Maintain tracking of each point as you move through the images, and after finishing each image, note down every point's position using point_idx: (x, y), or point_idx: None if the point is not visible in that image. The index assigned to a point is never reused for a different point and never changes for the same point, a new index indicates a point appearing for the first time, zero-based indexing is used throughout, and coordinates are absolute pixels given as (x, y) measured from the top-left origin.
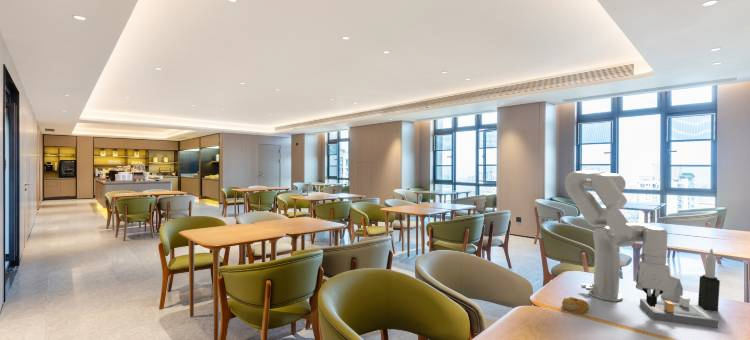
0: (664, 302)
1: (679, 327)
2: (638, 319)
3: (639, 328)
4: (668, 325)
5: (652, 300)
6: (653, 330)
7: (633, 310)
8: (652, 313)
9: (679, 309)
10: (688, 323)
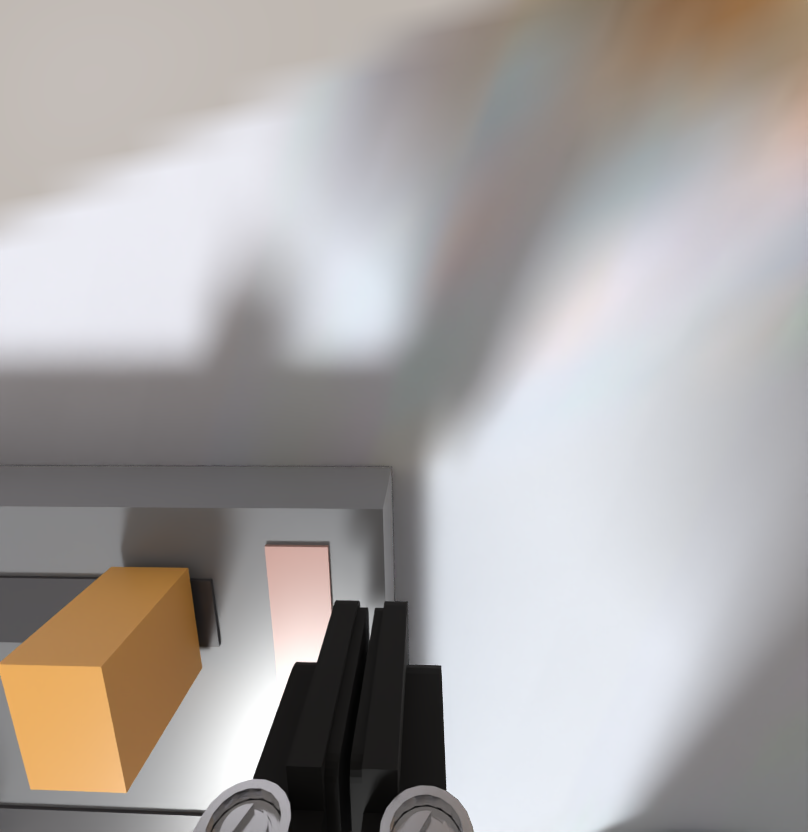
0: (148, 754)
1: (157, 343)
2: (570, 418)
3: (690, 86)
4: (266, 357)
5: (370, 688)
6: (514, 92)
7: (521, 670)
8: (386, 530)
9: None
10: (32, 470)
